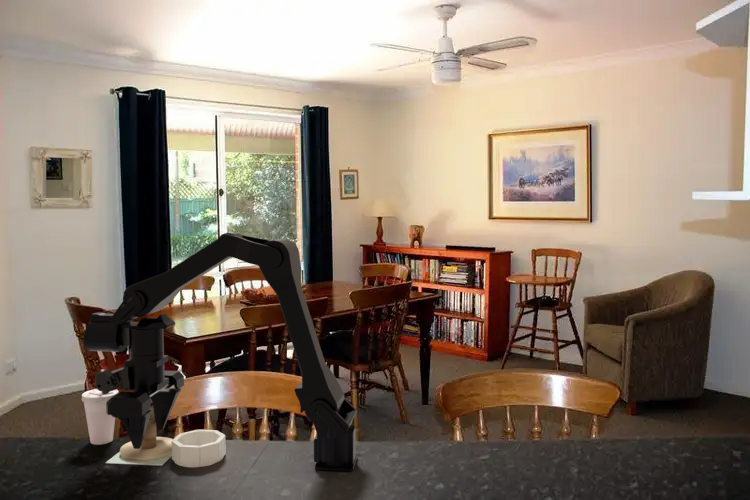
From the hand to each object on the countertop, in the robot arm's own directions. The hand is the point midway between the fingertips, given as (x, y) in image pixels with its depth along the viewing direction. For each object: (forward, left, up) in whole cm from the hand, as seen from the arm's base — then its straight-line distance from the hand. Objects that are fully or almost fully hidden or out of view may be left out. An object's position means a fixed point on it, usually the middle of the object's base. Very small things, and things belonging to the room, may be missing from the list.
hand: (149, 438), depth 117 cm
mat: (0, 0, -3) cm, 3 cm away
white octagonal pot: (-10, +2, -3) cm, 10 cm away
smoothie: (+11, -4, -3) cm, 12 cm away
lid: (0, 0, -2) cm, 2 cm away
